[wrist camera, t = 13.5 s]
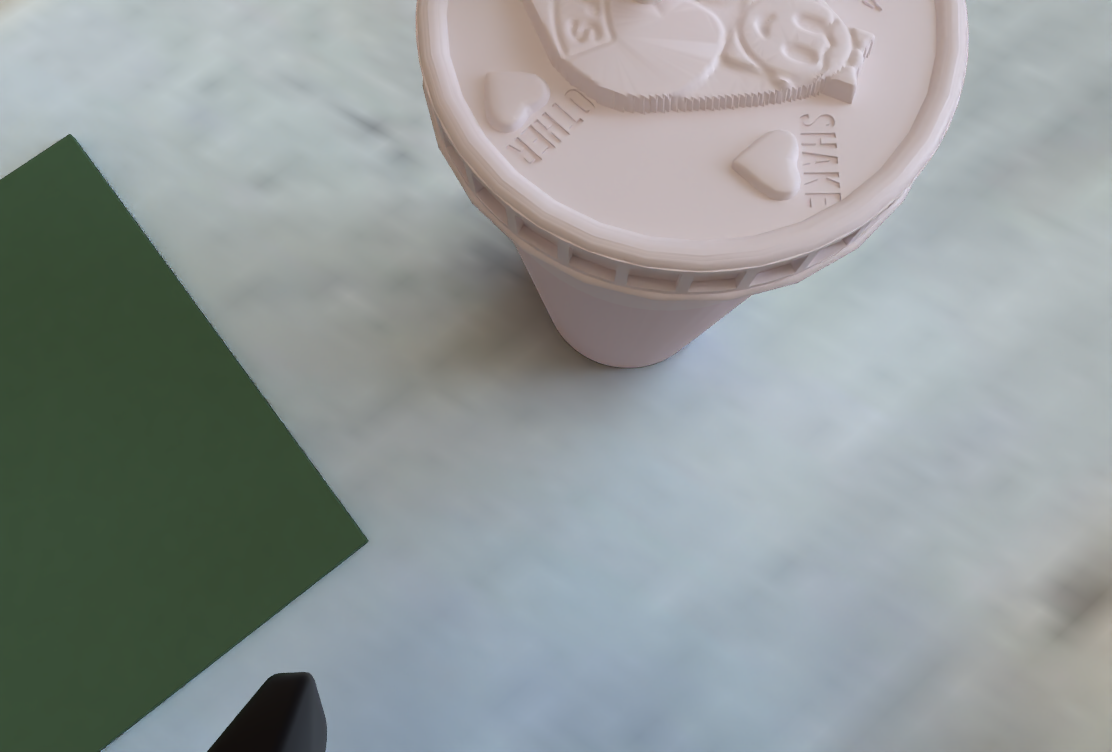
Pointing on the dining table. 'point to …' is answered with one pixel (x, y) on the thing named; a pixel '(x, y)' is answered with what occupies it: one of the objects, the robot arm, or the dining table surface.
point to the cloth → (129, 473)
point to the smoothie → (685, 144)
